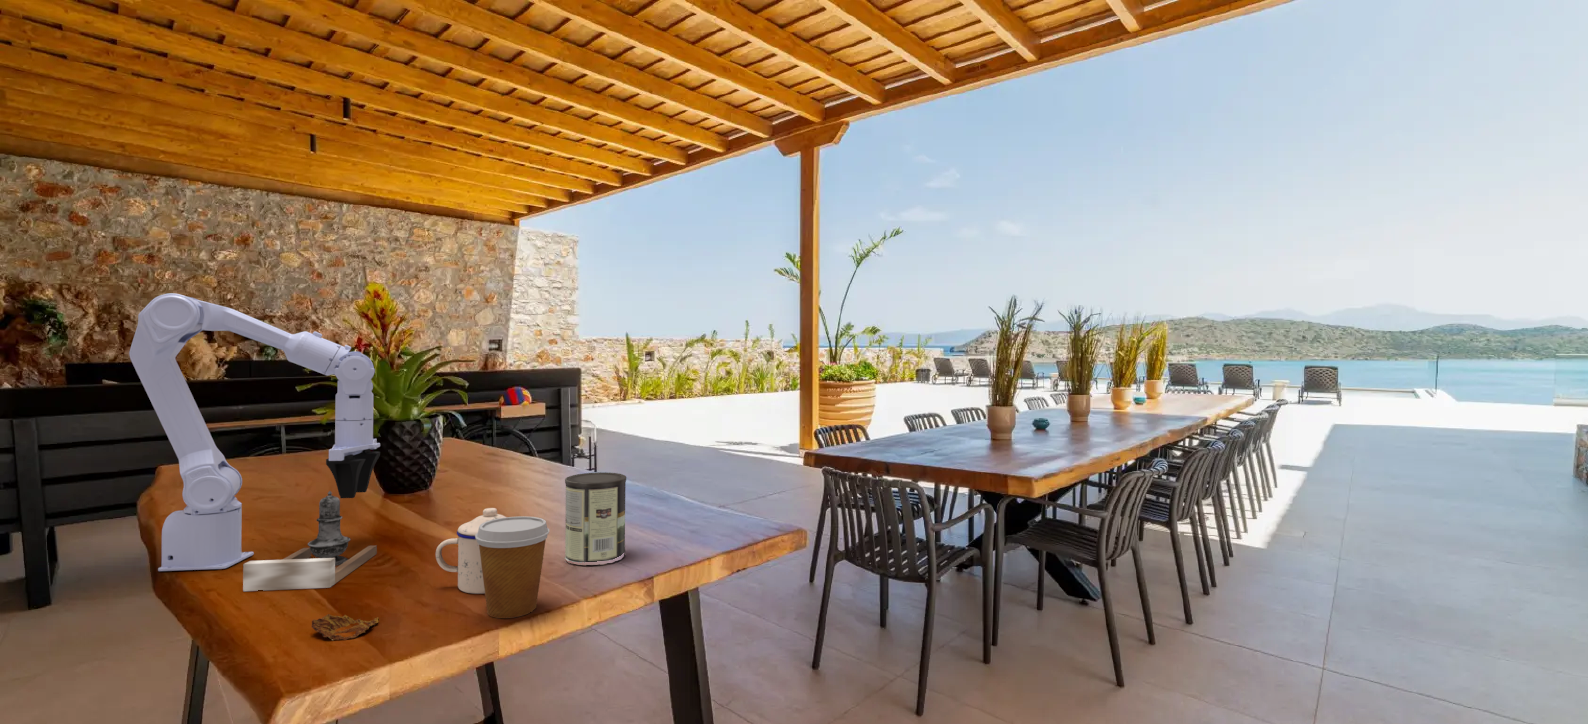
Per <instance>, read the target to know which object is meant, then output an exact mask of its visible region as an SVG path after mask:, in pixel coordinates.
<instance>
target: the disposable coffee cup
mask: <svg viewBox="0 0 1588 724" xmlns="http://www.w3.org/2000/svg"><path fill="white" fill-rule="evenodd" d="M505 517H506V518H499V519H494V520H490V521H487V522H484V523H482V524H481V525H480V526H479V529H478V533H477V534H476V535H475V539H476V540H477V543H478V544H479V549H480V557H481V565H482V573H483V581H484V589H485V594H484V597H485V602H486V604H485V605H486V611H487V612H486V614H487V615H488V616H490V617H492V618H495V619H512V618H518V617H523V616H525V615H528V614H531V613H532V612H534V611H535V610H536V609H537V603H538V597H539V590H540V582H541V575H542V570H543V563H544V562H543V561H544V554H545V547H546V540H547V538H548V535H549V534H550V528H549V527H548V526H547V521H546V520H545V519H543V518H541V517H537V516H528V515H527V516H525V515H524V516H523V515H522V516H521V515H520V516H509V517H508V516H505ZM535 608H536V609H535ZM534 609H535V610H534ZM533 610H534V611H533ZM530 612H531V613H530Z"/></svg>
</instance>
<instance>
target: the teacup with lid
mask: <svg viewBox="0 0 1588 724" xmlns="http://www.w3.org/2000/svg"><path fill="white" fill-rule="evenodd" d="M506 517H507V516H505V515H503V514H499V513H498V510H497V508H496V507H487V508H484V509H483V510H482V515H479V516H477V517H475V518H473V519H472V520H470V521H468V522H465V523H463V524H461V525H459V527H458V529H457V531H456V535H457V536H458V538H457V537H456V538H454V537H452V538H448V539H445V540H443V541H441V543H440V544H438V546H437V547H436V550H435V559H436V562H437V564H438V565H439V567H440V568H441V569H442V570H444V571H446V572H451V573H457V588H458V589H459V591H461V592H463V593H466V594H467V593H468V594H473V595H479V594H480V595H481V594H483V595H485V589H484V581H483V573H482V565H481V557H480V549H479V544H478V543H477V540H476V539H475V535H476V534H477V533H478V529H479V526H480V525H481V524H482V523H484V522H487V521H490V520H494V519H499V518H506ZM449 545H457V546H458V547H457V550H458V552H457V557H458V558H457V560H458V561H457V566H456V565H450V564H448V563H447V562H446V561H445V560H444V558H443V555H442V553H443V552H442V550H443V548H444V547H445V546H449Z"/></svg>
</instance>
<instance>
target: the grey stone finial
mask: <svg viewBox="0 0 1588 724" xmlns="http://www.w3.org/2000/svg"><path fill="white" fill-rule="evenodd" d="M332 494H333V492H332V491H331V490H329V491H328V492H327V495H326V496H325V497H323V498H321V499H320V500H319V506H318V507H319V511H318V512H319V514H318V515H319V516H318V518H317V519H316V521H317V522H318V532H317V536H316V538H315V539H313V540H311V541H309V542H308V543H307V546H308V547H309V548H310V551H311V555H313V556H314V557H315V558H335V567H338V566H340V565H341V564H343V563H344V562H346V561H347V560H349V558H347V557H346V556H342V555H343V554H344V552H346V550H347V548H348V546H349V542H350V541H351V538H350V537H348V536H345V535H343V534H342V531H341V520H342V519H343V516H342V515H340V514H341V511H340V510H341V499H340V498H339V497H338V496H334V495H332Z"/></svg>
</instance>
